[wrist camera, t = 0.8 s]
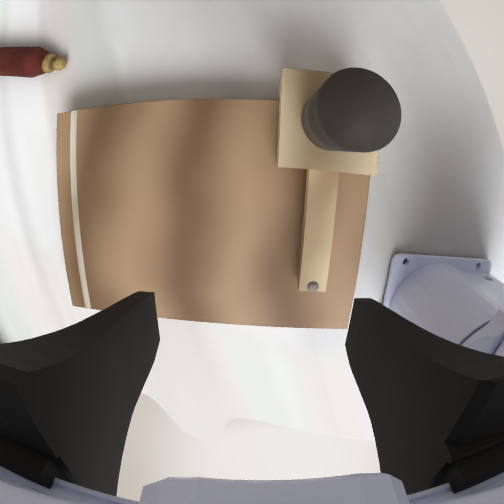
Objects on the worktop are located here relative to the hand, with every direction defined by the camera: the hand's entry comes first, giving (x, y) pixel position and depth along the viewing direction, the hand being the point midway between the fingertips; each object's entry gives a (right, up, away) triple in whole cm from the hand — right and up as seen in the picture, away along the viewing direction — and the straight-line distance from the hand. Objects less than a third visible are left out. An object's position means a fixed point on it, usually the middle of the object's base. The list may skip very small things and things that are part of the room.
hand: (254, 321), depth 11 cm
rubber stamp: (+4, +7, +8) cm, 11 cm away
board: (-3, +5, +9) cm, 11 cm away
